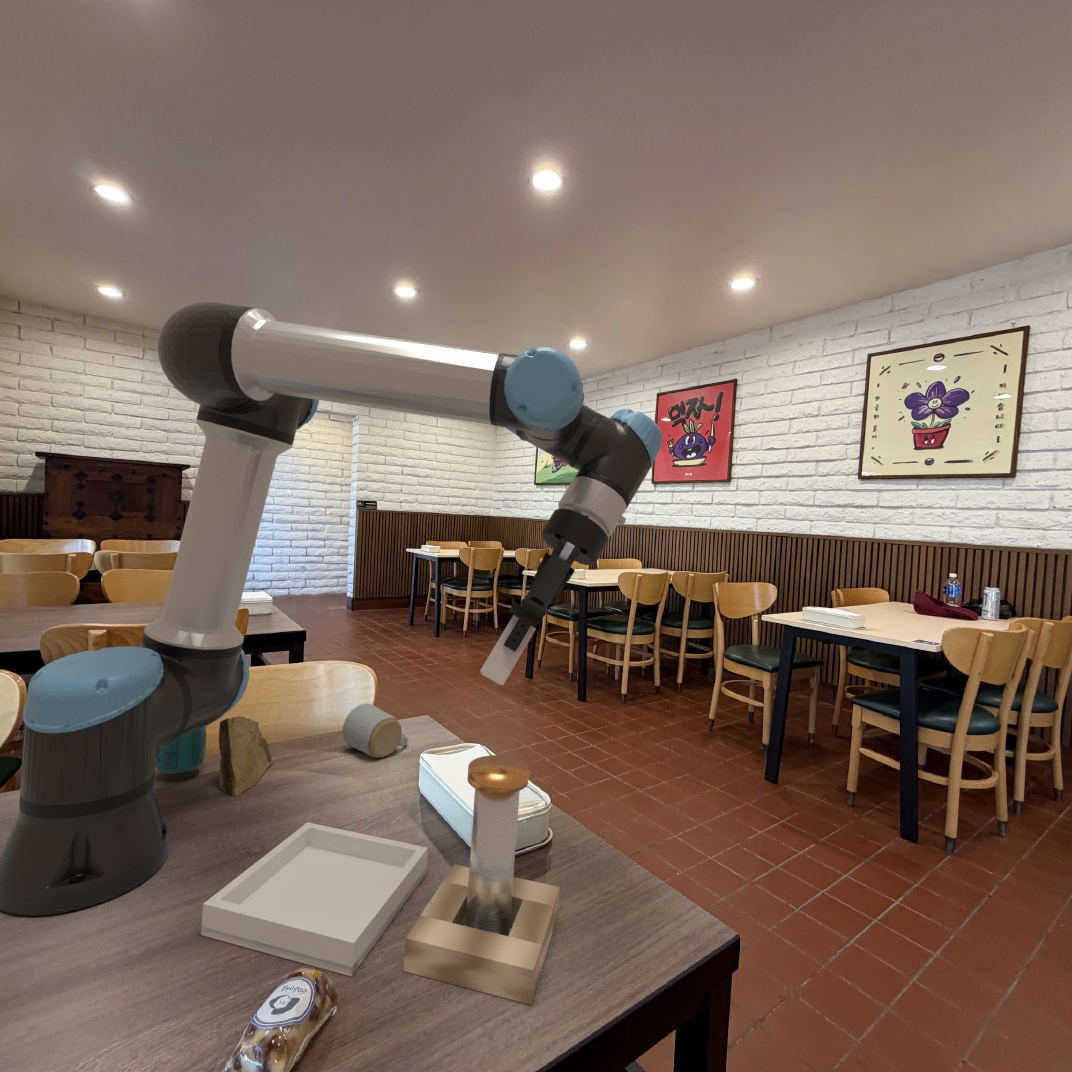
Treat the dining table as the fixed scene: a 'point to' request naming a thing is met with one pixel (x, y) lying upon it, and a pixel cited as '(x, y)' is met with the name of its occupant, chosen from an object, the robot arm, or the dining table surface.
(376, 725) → the ceramic mug
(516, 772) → the steel pin
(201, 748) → the beverage bottle
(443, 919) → the block
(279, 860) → the tray
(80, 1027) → the dining table surface
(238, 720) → the rock
